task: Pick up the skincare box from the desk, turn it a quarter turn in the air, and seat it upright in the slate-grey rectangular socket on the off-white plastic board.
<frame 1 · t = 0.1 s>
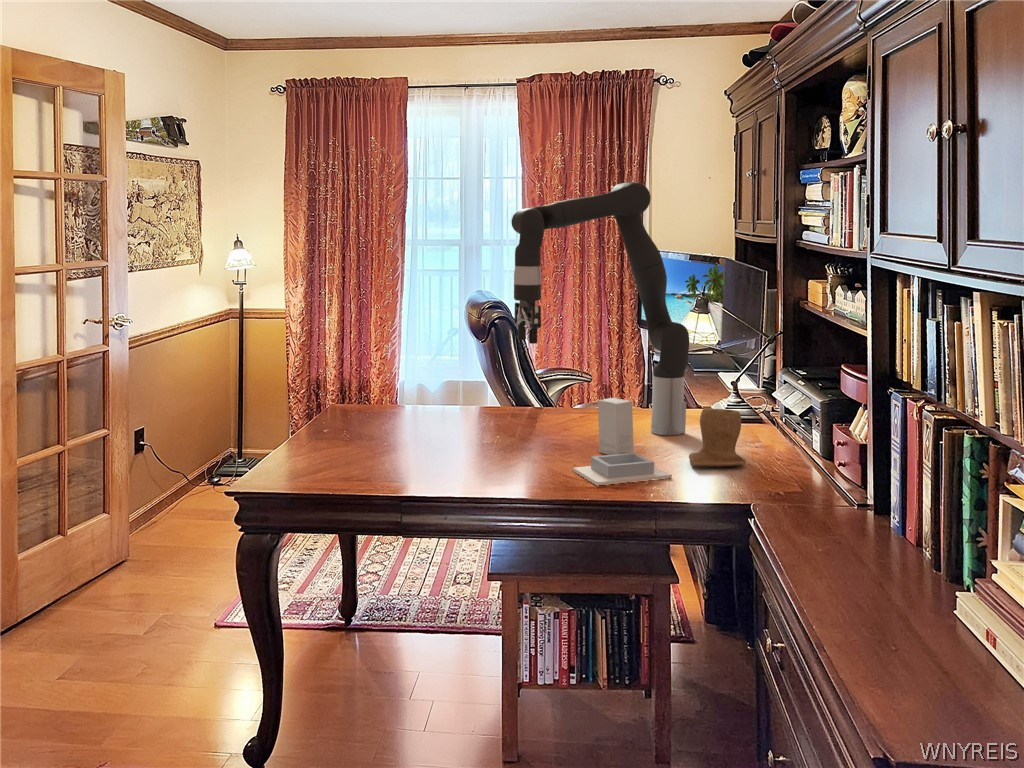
hand: (527, 341, 247), 29 cm above the table, tool pointing down, fingers open, 8 cm apart
socket board: (621, 475, 221), on the table
tan flared vase: (714, 465, 231), on the table
skincare box: (615, 454, 242), on the table
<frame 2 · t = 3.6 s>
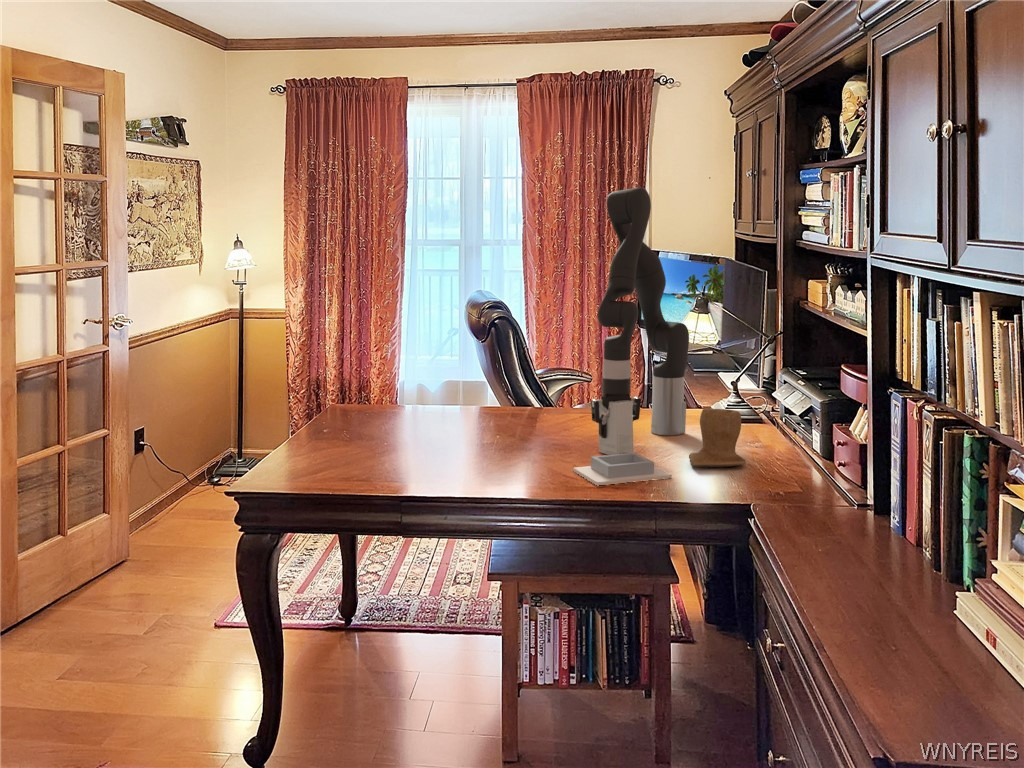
hand: (615, 436, 241), 5 cm above the table, tool pointing down, fingers closed on skincare box, 6 cm apart
skincare box: (615, 454, 242), on the table, touching gripper
everything else where it was.
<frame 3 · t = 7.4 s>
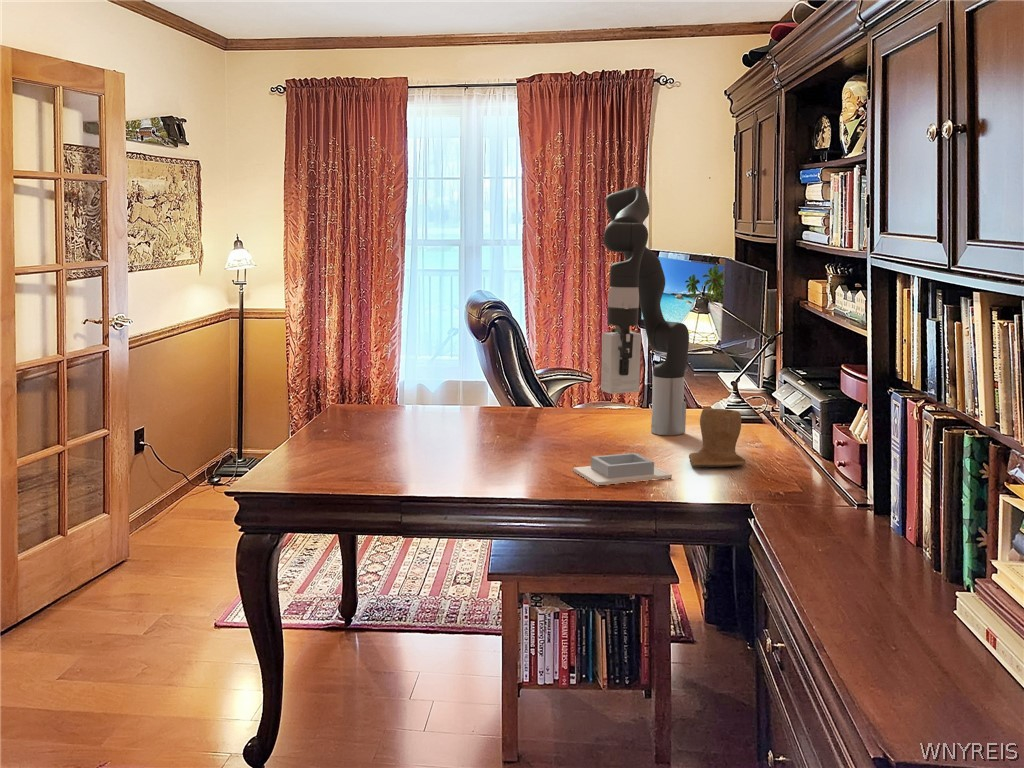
hand: (620, 372, 221), 25 cm above the table, tool pointing down, fingers closed on skincare box, 6 cm apart
skincare box: (619, 392, 221), point 20 cm above the table, touching gripper
everything else where it was.
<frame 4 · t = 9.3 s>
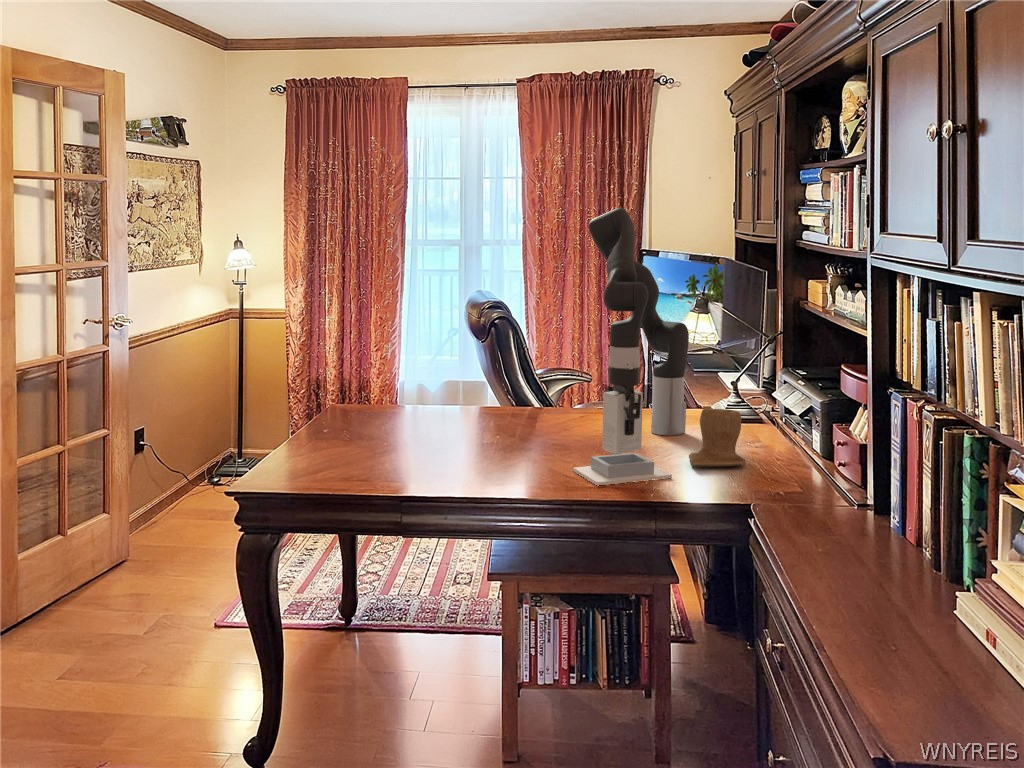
hand: (622, 431, 219), 11 cm above the table, tool pointing down, fingers closed on skincare box, 6 cm apart
skincare box: (621, 451, 220), point 6 cm above the table, touching gripper
everything else where it was.
when the fingers open (8 cm above the table, at t = 11.0 s): skincare box stays where it is, resting on socket board.
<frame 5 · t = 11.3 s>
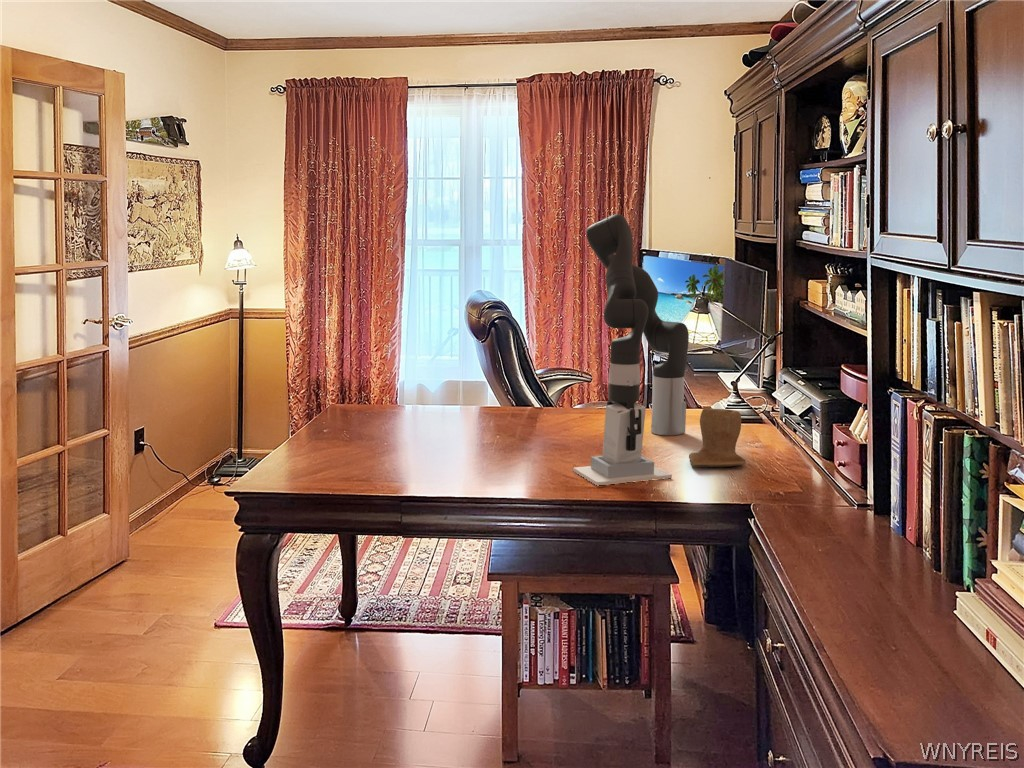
hand: (622, 446, 219), 7 cm above the table, tool pointing down, fingers open, 8 cm apart
skincare box: (621, 462, 220), point 3 cm above the table, touching gripper, socket board
everything else where it was.
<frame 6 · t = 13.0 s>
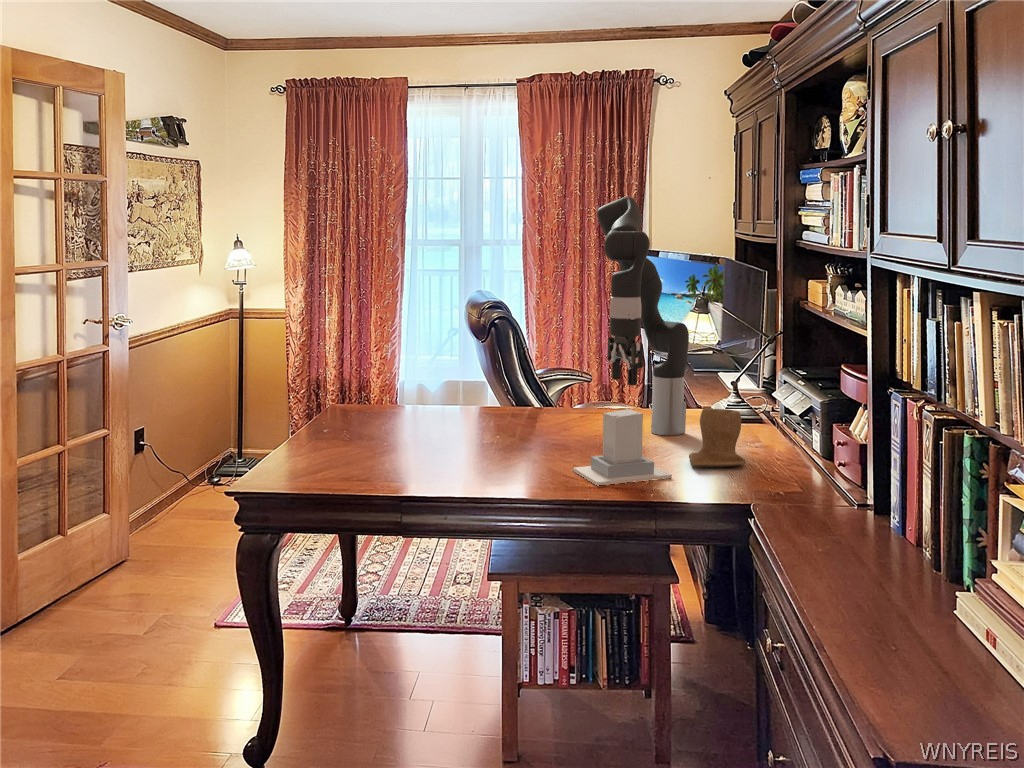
hand: (624, 382, 217), 23 cm above the table, tool pointing down, fingers open, 8 cm apart
skincare box: (621, 471, 220), point 1 cm above the table, touching socket board
everything else where it was.
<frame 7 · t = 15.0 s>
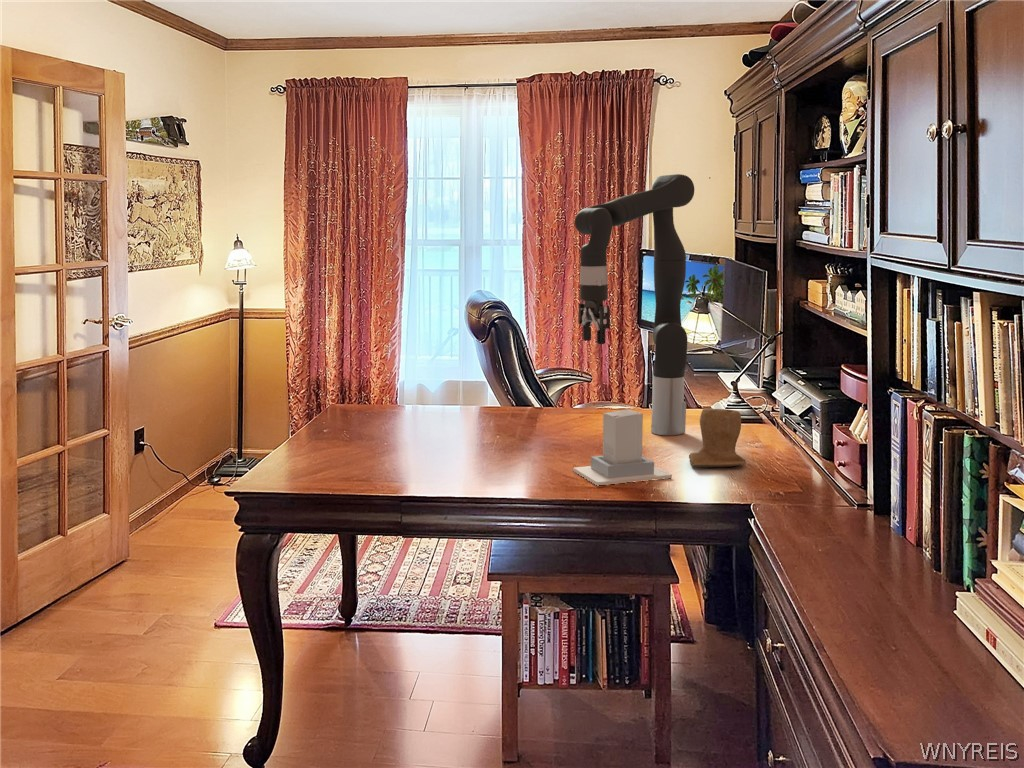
hand: (593, 342, 245), 29 cm above the table, tool pointing down, fingers open, 8 cm apart
nothing on the table moved.
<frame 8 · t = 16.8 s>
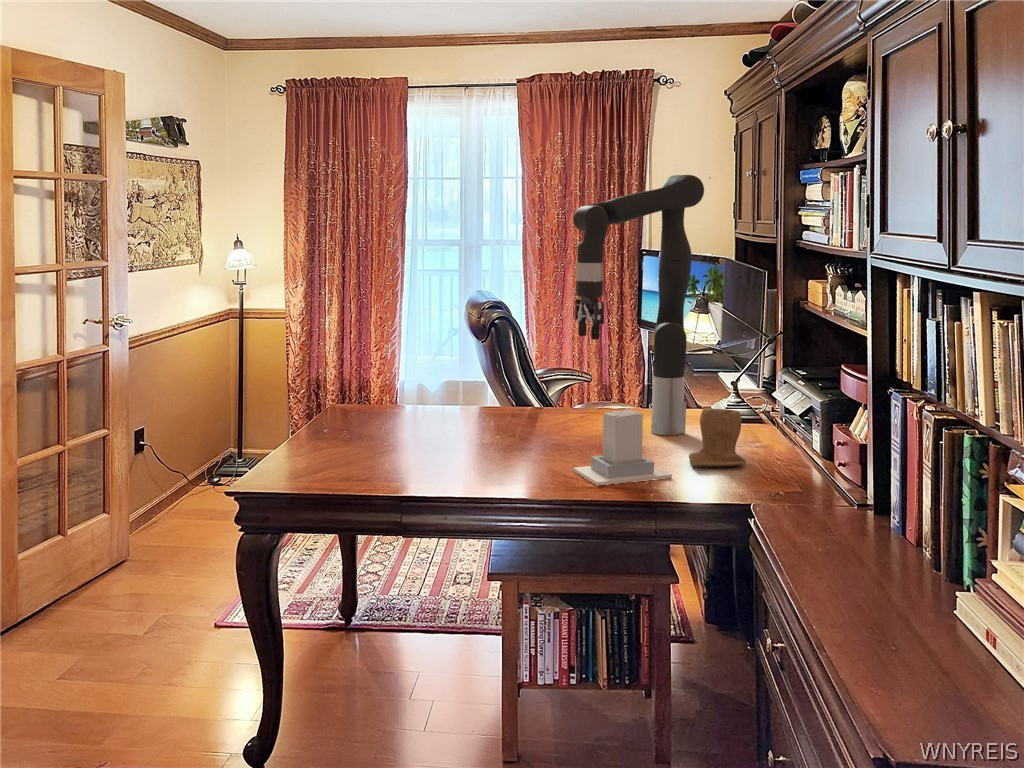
hand: (588, 337, 249), 30 cm above the table, tool pointing down, fingers open, 8 cm apart
nothing on the table moved.
at the end: skincare box 0.0 cm off-centre on the socket board, point 0.8 cm above the socket board's base; skincare box tilted 0°; the gripper is holding nothing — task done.
